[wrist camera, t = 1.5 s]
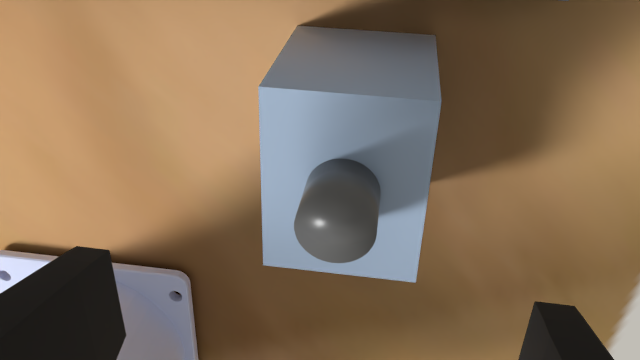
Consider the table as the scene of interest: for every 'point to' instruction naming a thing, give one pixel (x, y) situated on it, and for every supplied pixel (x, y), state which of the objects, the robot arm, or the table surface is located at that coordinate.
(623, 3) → the table surface
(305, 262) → the blue plug
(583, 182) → the table surface
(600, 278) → the table surface
